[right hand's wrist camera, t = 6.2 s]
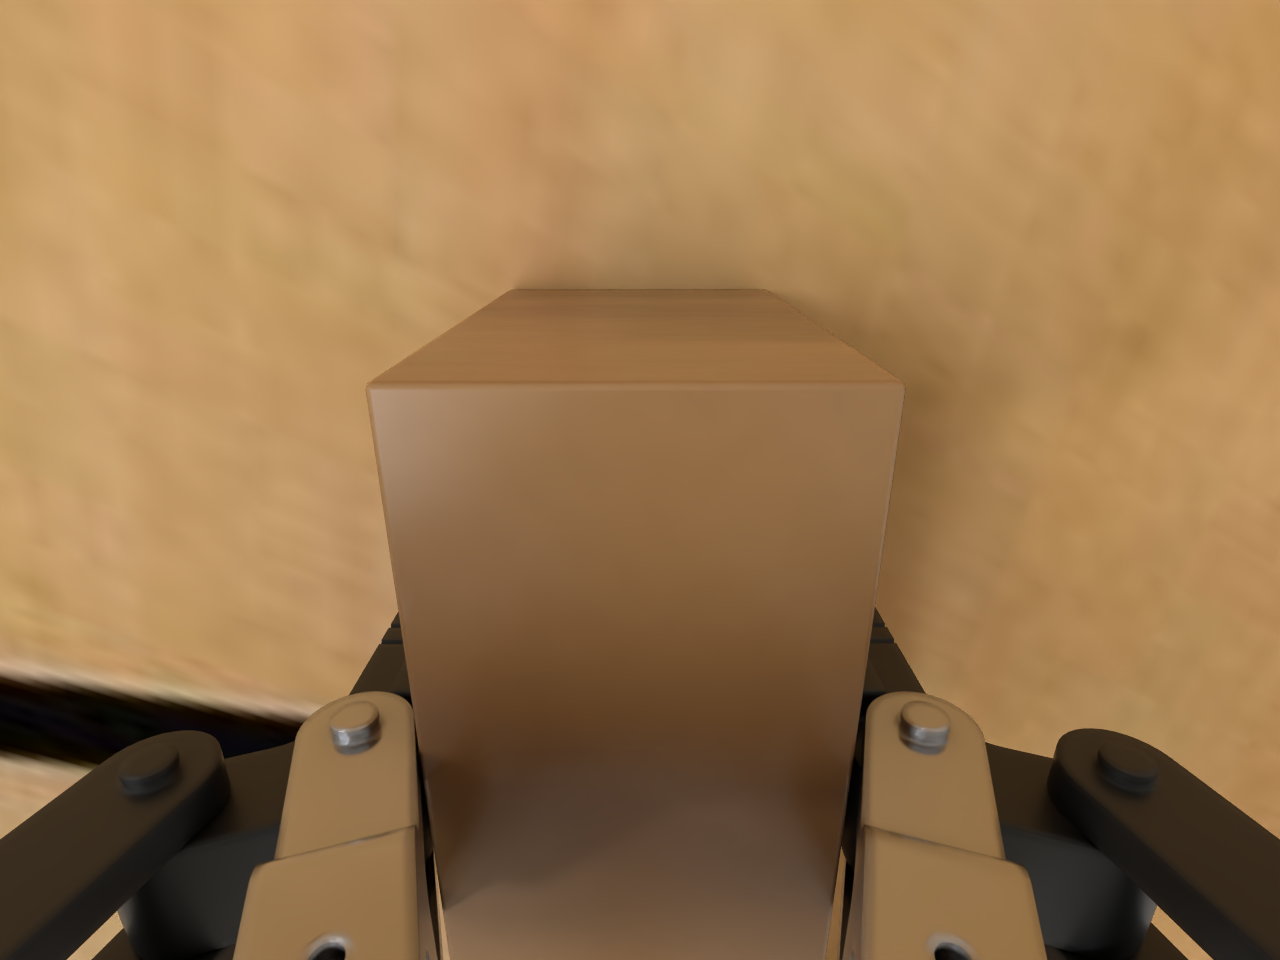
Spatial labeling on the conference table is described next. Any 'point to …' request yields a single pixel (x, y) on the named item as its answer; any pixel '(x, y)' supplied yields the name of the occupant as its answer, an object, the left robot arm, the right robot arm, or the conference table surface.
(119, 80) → the conference table surface
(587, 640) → the bar
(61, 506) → the conference table surface
